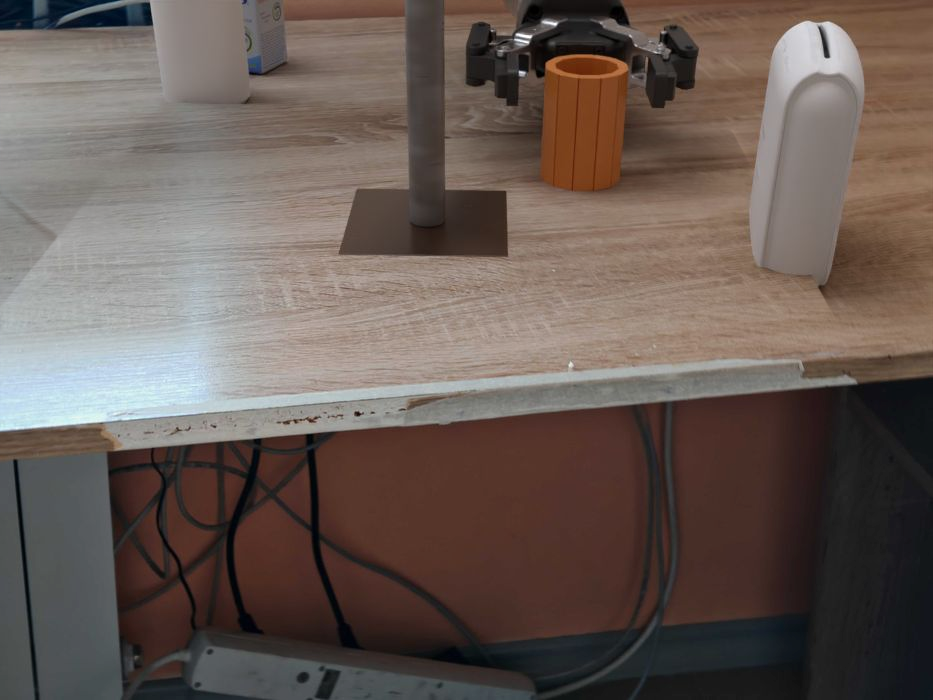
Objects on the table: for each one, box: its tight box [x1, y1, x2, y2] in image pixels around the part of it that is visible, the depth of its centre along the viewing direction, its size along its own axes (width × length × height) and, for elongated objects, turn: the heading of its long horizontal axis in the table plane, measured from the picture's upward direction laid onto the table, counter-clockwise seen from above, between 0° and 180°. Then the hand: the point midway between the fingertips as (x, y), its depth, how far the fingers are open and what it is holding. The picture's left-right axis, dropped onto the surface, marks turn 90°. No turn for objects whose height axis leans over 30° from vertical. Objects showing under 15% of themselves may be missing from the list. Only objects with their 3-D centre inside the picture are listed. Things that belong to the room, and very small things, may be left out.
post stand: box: [338, 0, 509, 258], centre depth 57 cm, size 9×9×17 cm
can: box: [149, 0, 251, 105], centre depth 79 cm, size 6×6×12 cm
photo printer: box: [748, 20, 866, 287], centre depth 57 cm, size 10×4×12 cm, turn 169°
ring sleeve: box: [540, 54, 629, 192], centre depth 65 cm, size 5×5×8 cm
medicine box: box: [242, 0, 288, 75], centre depth 89 cm, size 8×4×9 cm, turn 70°
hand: (586, 91), depth 63 cm, fingers open, 8 cm apart
